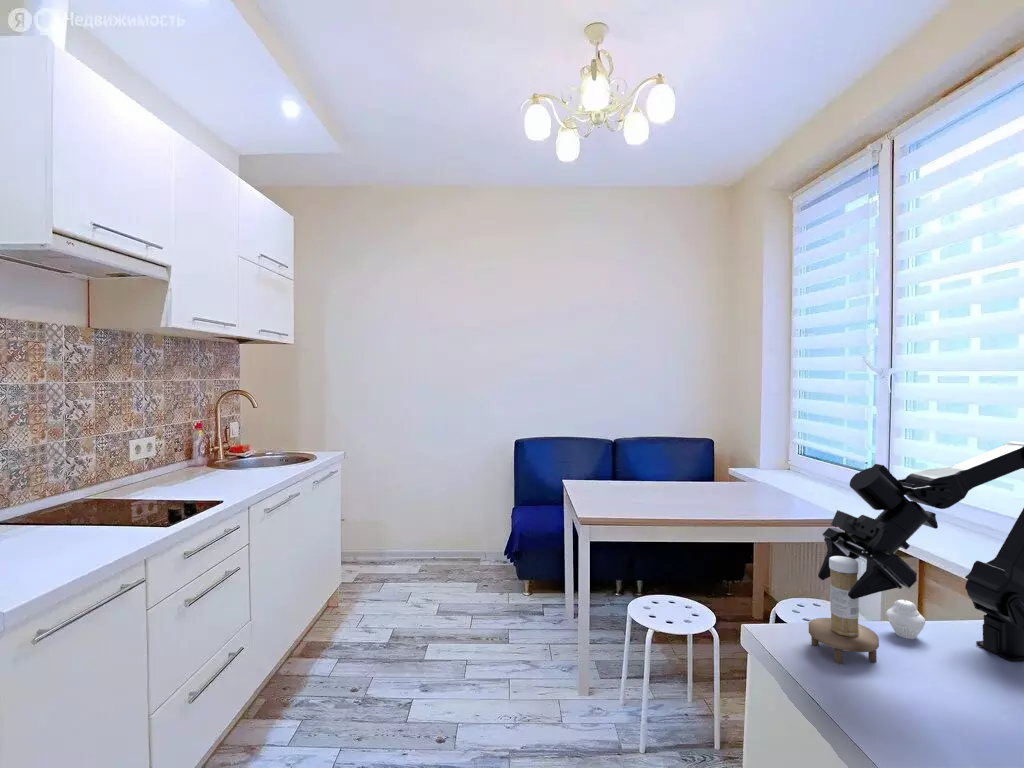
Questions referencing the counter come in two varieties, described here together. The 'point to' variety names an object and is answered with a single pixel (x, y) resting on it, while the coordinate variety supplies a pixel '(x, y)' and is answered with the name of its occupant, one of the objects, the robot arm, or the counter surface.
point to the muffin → (905, 619)
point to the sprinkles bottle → (843, 596)
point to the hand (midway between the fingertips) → (834, 587)
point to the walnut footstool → (843, 639)
